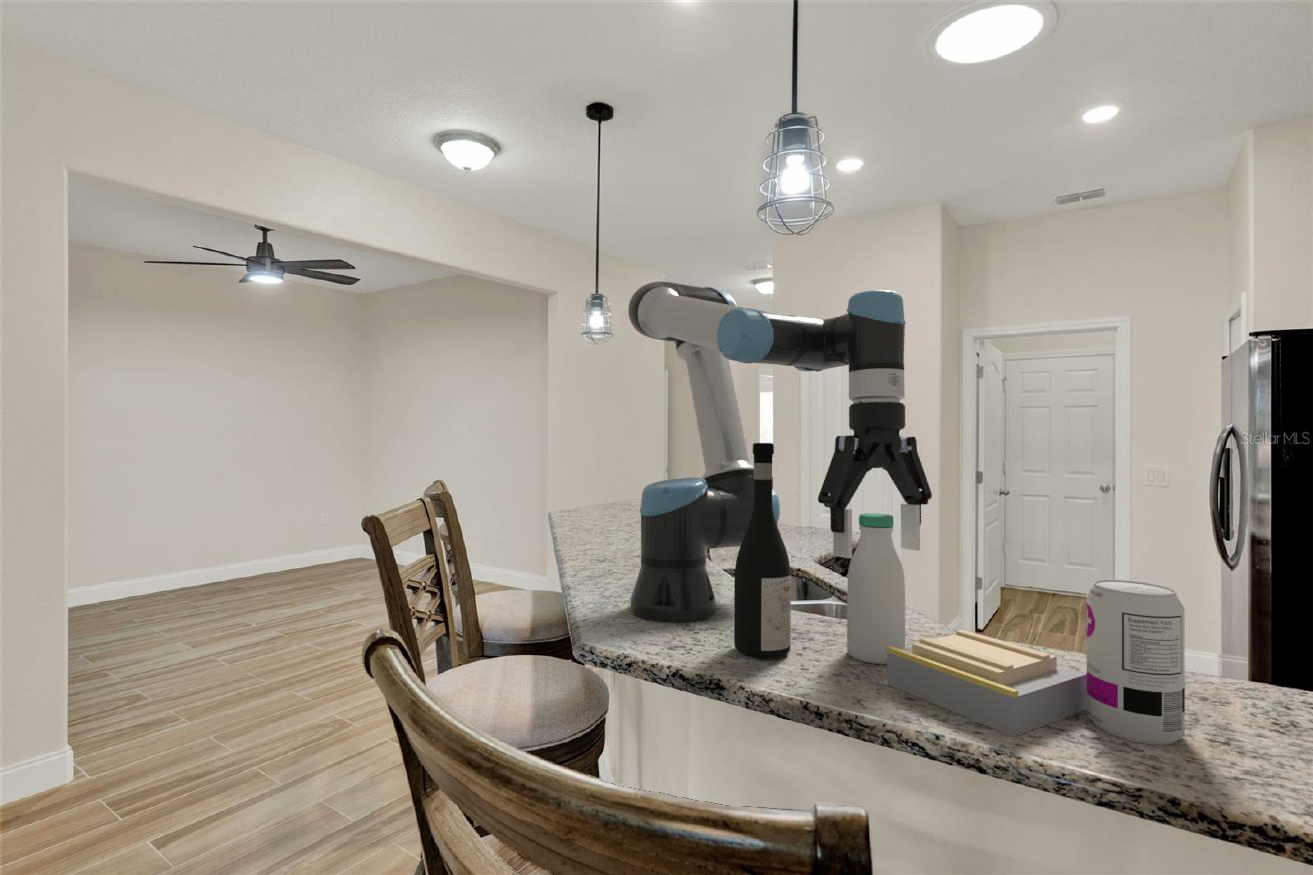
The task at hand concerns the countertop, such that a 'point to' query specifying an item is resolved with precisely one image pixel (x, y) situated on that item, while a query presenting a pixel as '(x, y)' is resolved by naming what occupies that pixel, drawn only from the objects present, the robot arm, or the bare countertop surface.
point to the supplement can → (1136, 661)
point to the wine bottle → (762, 574)
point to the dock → (988, 681)
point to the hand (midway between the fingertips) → (877, 553)
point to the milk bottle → (875, 593)
